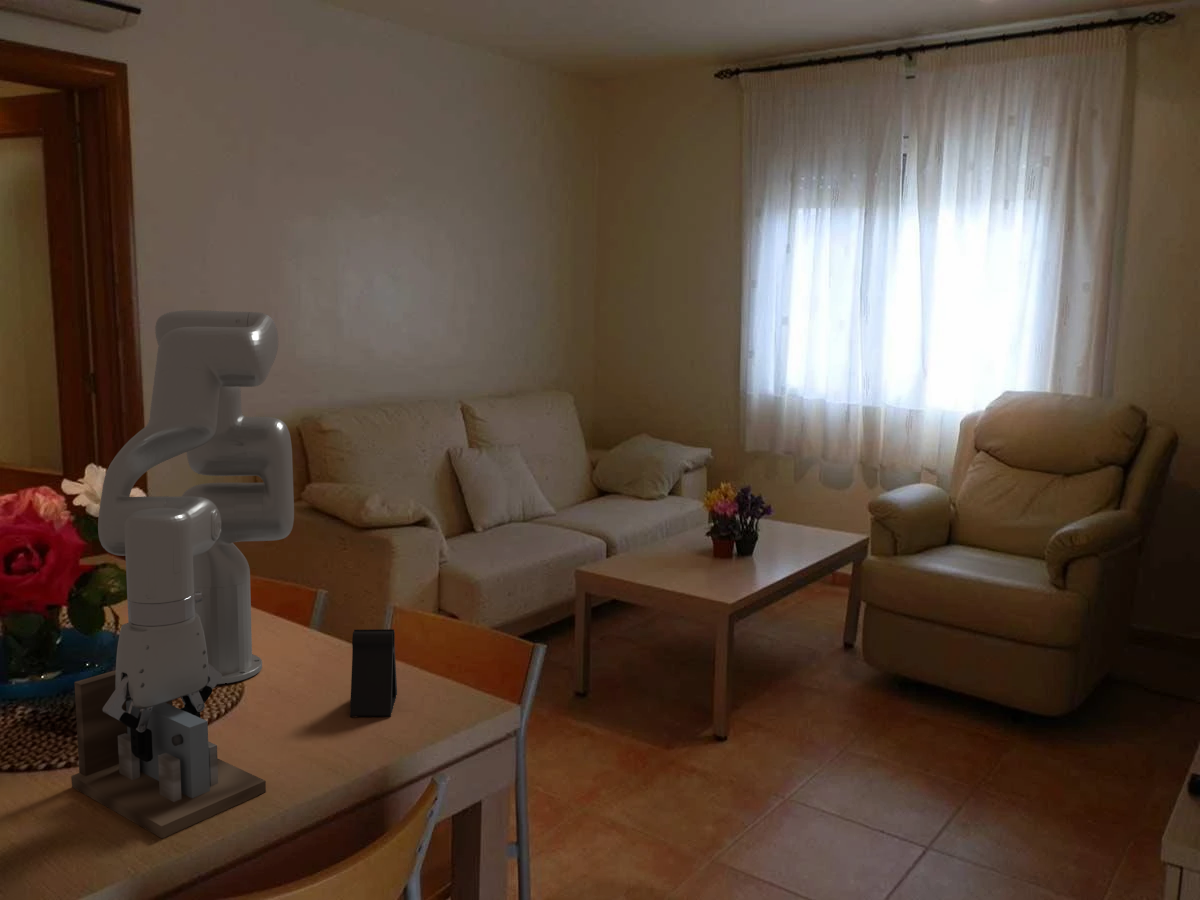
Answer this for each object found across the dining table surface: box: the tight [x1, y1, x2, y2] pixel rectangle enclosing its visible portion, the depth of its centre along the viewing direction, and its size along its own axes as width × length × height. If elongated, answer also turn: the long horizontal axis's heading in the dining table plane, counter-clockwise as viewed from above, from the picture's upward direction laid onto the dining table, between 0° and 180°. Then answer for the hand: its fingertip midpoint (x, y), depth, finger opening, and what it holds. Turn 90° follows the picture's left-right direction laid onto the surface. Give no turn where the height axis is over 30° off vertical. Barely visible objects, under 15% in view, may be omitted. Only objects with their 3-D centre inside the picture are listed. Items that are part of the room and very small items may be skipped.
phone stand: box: [349, 628, 398, 718], centre depth 152 cm, size 9×6×12 cm, turn 5°
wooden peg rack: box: [71, 669, 267, 839], centre depth 125 cm, size 20×14×14 cm
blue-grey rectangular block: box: [126, 700, 210, 798], centre depth 125 cm, size 14×3×9 cm, turn 55°
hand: (167, 747), depth 125 cm, fingers open, 5 cm apart
